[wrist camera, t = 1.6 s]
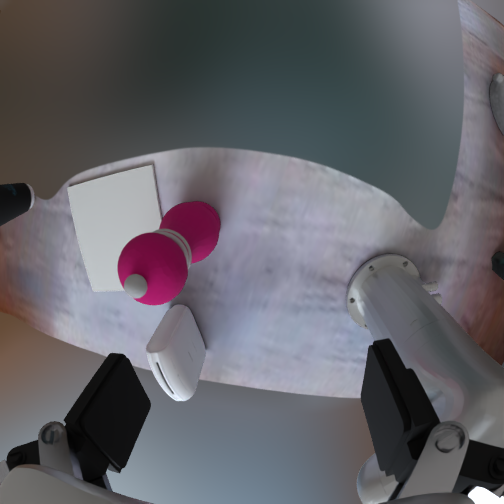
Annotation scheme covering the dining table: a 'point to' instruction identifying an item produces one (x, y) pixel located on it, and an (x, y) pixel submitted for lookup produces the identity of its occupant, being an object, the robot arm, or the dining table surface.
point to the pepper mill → (168, 253)
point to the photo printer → (177, 353)
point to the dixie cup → (15, 200)
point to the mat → (113, 220)
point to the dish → (498, 99)
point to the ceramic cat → (498, 264)
